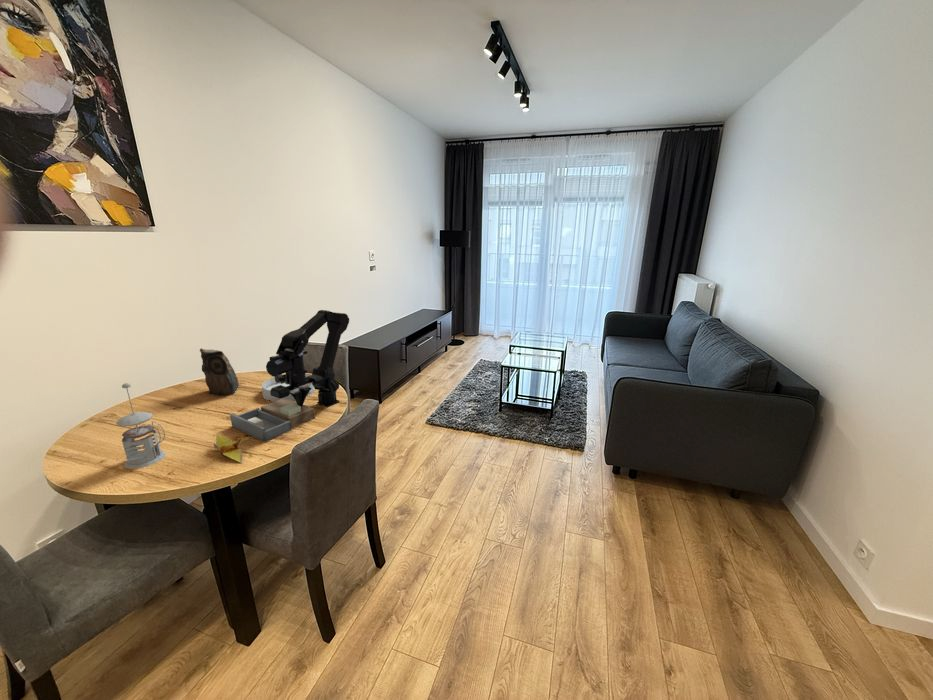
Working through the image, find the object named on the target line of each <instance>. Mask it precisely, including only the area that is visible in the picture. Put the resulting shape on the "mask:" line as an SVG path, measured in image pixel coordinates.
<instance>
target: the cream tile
mask: <svg viewBox="0 0 933 700" xmlns="http://www.w3.org/2000/svg"><path fill="white" fill-rule="evenodd" d="M248 421H250V422H253V423H255V424H257V425H259V426H263V420H260V419H258V418H256V417H254V418H251V419H248Z"/></svg>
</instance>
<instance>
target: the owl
mask: <svg viewBox="0 0 933 700" xmlns="http://www.w3.org/2000/svg"><path fill="white" fill-rule="evenodd" d="M199 352H200V357H201V361H202V362H201V363H202V364H201V371H202V373H203V374H204V376H205V377H204V378H205V379H204V380H205V384H206V386H207V388H208V394H209V395H214V396H218V397H220V396H221V397H223V396H233V395H235V394H236V392H237V391H238V389H239V388H238V386H239V387H240V385H239V380H238V379H239V378H238V376H237V374H236V372H235V369H234V368H233V366H232V365H231V364H232V363H230V360H229V358H228V357H227V355H225V353H224V352H223V351H222V350H218V349H204V348H200V349H199ZM237 388H238V389H237ZM235 391H236V392H235ZM234 393H235V394H234Z"/></svg>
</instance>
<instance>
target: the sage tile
mask: <svg viewBox="0 0 933 700" xmlns="http://www.w3.org/2000/svg"><path fill="white" fill-rule="evenodd" d="M300 411H301V406H299V405H296V404H293V403H291V404H289V405H286V406H284V407H281V408H280V412H281V413H282V414H285V415H287V416H291V415H293V414H295V413H298V412H300Z"/></svg>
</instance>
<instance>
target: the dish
mask: <svg viewBox="0 0 933 700" xmlns="http://www.w3.org/2000/svg"><path fill="white" fill-rule="evenodd" d="M310 375H311V374H308V373H305V376H306V377H307V376H310ZM279 385H282V386H285V387H287V386H290V385H289V384H288V385H287V384H286V383H283V384H281V382H278V383H276V381H275V376H272V377H271V378H269V379H266V380H265V381H264V382H262V384H261V390H262V391H261V394H262V397H263V398H264V399H265V400H266V401H269V400H270V402H275V401H278V400H280V399H283V398H280V399H279V398H277V397H274V396H271V394H270V390H271V389H272V388H273V387H276V386H279ZM309 387H310V388H311V390H310V391H309V393H308V395H309V396H311V395H312V393H313V392H314V391H315V390H316V389H315V388H314V386H313V385H312V383H311V384H309ZM316 391H317V390H316ZM316 391H315V392H316ZM315 392H314V393H315ZM314 393H313V394H314ZM310 394H311V395H310ZM308 395H307V397H308ZM284 398H286V399H289V400H293V401H295V399H294V397H293V396H292V395H291V394H289V396H287V397H284Z"/></svg>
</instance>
